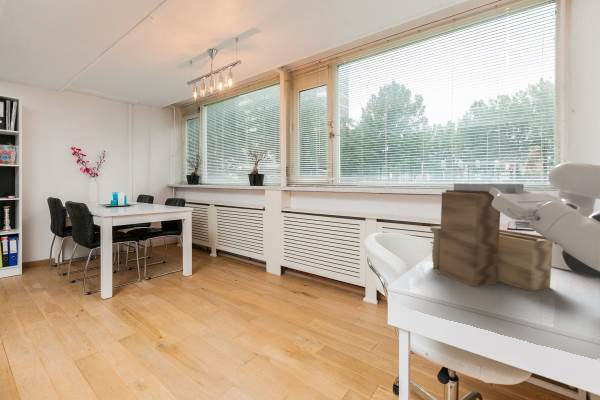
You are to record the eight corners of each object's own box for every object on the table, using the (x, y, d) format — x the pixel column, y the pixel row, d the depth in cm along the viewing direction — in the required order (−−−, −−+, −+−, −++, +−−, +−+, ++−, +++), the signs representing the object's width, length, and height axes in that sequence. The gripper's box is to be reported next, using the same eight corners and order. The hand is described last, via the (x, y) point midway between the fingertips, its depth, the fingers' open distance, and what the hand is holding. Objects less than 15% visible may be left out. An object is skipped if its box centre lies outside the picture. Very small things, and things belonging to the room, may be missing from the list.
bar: (460, 192, 98) (460, 183, 98) (523, 194, 79) (523, 184, 79) (453, 192, 97) (453, 183, 97) (515, 195, 78) (516, 183, 78)
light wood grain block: (500, 272, 101) (502, 229, 100) (549, 287, 86) (553, 236, 86) (481, 275, 98) (483, 230, 97) (529, 291, 83) (532, 238, 82)
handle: (449, 268, 105) (450, 227, 104) (438, 270, 102) (439, 228, 101) (437, 264, 109) (438, 225, 108) (426, 267, 106) (427, 227, 105)
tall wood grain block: (460, 270, 102) (464, 189, 100) (496, 282, 90) (501, 190, 88) (439, 273, 99) (442, 189, 97) (473, 286, 87) (477, 191, 85)
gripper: (514, 230, 70) (471, 199, 81) (567, 226, 77) (521, 198, 87) (530, 209, 66) (482, 179, 77) (583, 207, 73) (533, 180, 84)
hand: (503, 189), depth 82 cm, fingers open, 8 cm apart
